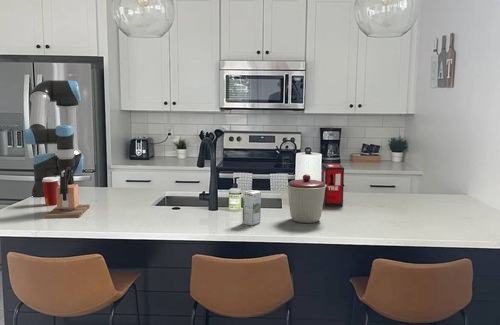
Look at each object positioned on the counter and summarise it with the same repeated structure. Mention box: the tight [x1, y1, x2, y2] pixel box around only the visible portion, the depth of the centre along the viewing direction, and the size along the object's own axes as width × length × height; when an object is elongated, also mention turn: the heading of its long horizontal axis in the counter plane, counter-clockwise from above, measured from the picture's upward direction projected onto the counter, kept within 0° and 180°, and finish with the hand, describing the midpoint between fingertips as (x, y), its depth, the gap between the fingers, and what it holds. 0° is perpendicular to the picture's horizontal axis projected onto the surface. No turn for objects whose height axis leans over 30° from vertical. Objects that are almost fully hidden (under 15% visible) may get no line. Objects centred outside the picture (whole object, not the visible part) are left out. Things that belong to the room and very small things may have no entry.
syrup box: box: [242, 189, 262, 227], centre depth 201 cm, size 6×6×14 cm
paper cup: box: [42, 176, 59, 207], centre depth 236 cm, size 8×8×14 cm
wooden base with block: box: [44, 203, 90, 219], centre depth 220 cm, size 20×15×10 cm
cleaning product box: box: [321, 162, 345, 207], centre depth 242 cm, size 16×9×20 cm, turn 179°
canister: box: [285, 174, 327, 224], centre depth 206 cm, size 18×18×21 cm
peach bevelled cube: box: [56, 183, 80, 209], centre depth 219 cm, size 8×8×10 cm
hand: (68, 204), depth 220 cm, fingers closed on peach bevelled cube, 8 cm apart
